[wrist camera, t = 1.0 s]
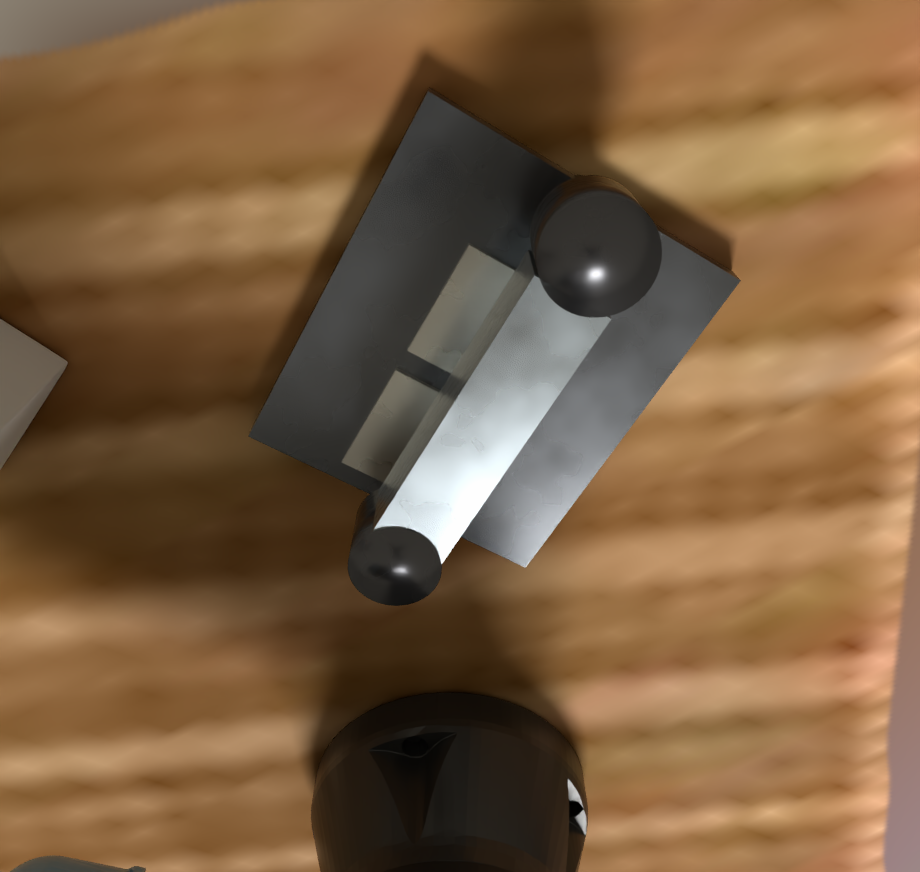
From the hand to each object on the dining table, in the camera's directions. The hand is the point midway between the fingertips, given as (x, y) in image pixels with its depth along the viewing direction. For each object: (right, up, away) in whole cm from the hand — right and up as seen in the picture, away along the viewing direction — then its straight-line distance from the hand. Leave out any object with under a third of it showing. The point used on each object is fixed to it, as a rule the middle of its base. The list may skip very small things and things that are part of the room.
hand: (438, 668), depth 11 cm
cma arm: (+1, +5, +23) cm, 23 cm away
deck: (+1, +6, +26) cm, 27 cm away
